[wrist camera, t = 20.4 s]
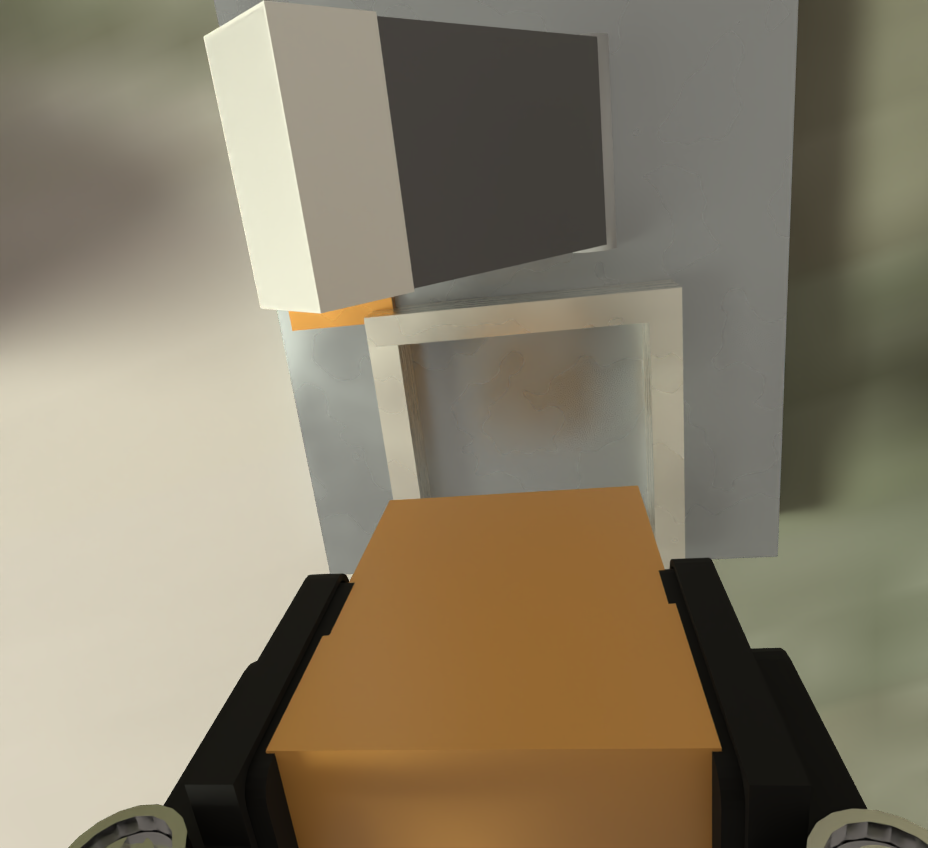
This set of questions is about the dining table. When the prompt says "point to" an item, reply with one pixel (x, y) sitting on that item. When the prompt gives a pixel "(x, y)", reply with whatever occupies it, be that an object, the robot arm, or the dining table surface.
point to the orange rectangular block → (503, 686)
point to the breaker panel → (590, 307)
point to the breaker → (408, 149)
